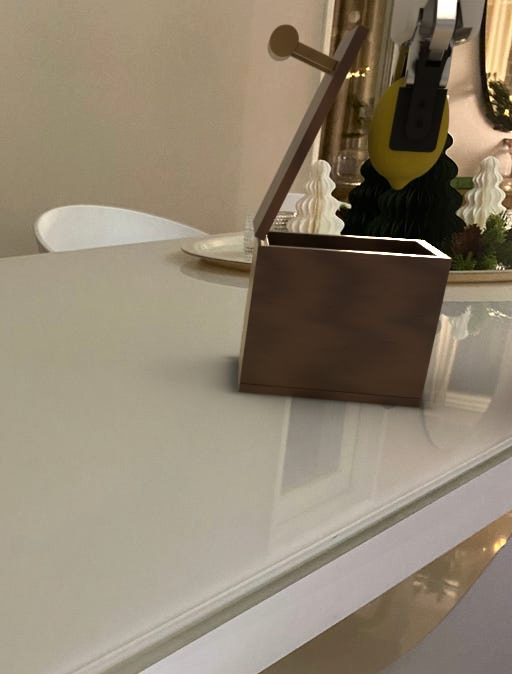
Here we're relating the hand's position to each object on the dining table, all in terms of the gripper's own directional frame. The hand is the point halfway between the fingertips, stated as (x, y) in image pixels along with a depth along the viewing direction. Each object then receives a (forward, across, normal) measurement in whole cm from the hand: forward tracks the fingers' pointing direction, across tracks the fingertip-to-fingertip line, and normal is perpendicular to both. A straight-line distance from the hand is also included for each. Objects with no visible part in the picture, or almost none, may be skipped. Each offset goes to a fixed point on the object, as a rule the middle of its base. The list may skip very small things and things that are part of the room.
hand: (405, 147), depth 77 cm
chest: (+18, 0, +3) cm, 18 cm away
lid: (0, 0, +7) cm, 7 cm away
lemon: (+3, 0, 0) cm, 3 cm away
